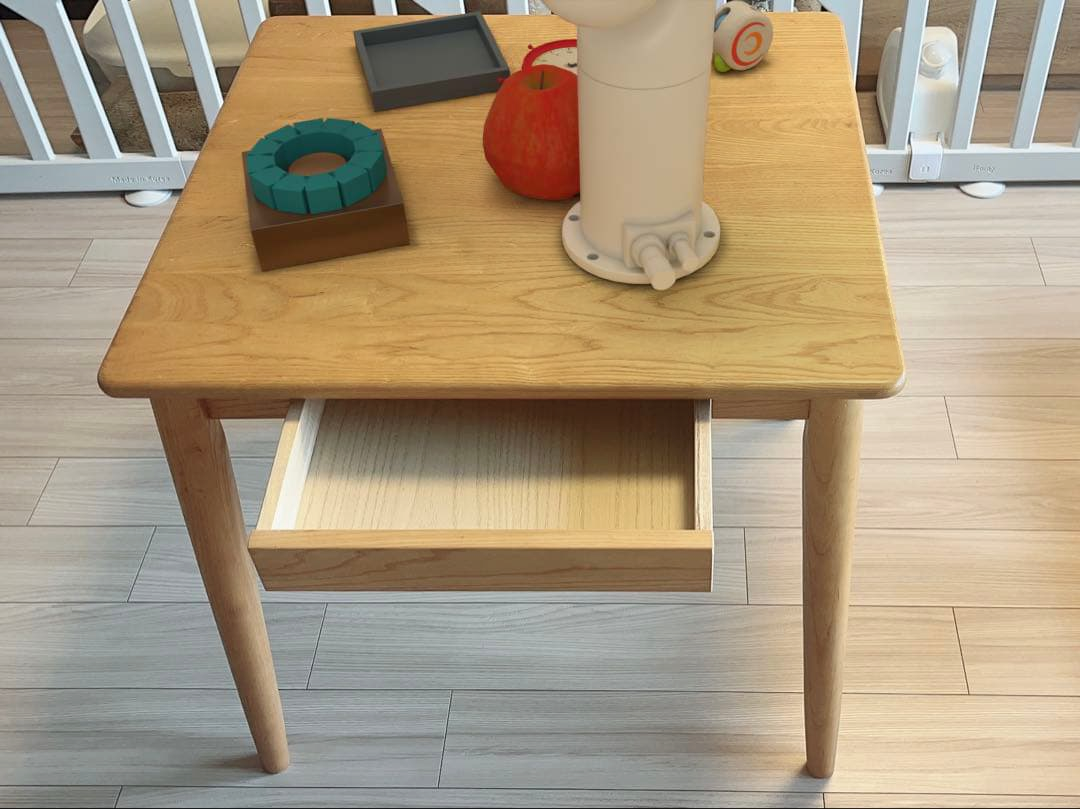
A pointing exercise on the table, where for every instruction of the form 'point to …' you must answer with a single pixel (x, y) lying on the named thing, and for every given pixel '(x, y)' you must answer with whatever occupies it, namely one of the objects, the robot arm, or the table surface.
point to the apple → (535, 133)
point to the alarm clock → (552, 55)
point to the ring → (321, 188)
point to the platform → (327, 219)
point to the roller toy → (740, 36)
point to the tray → (430, 60)
